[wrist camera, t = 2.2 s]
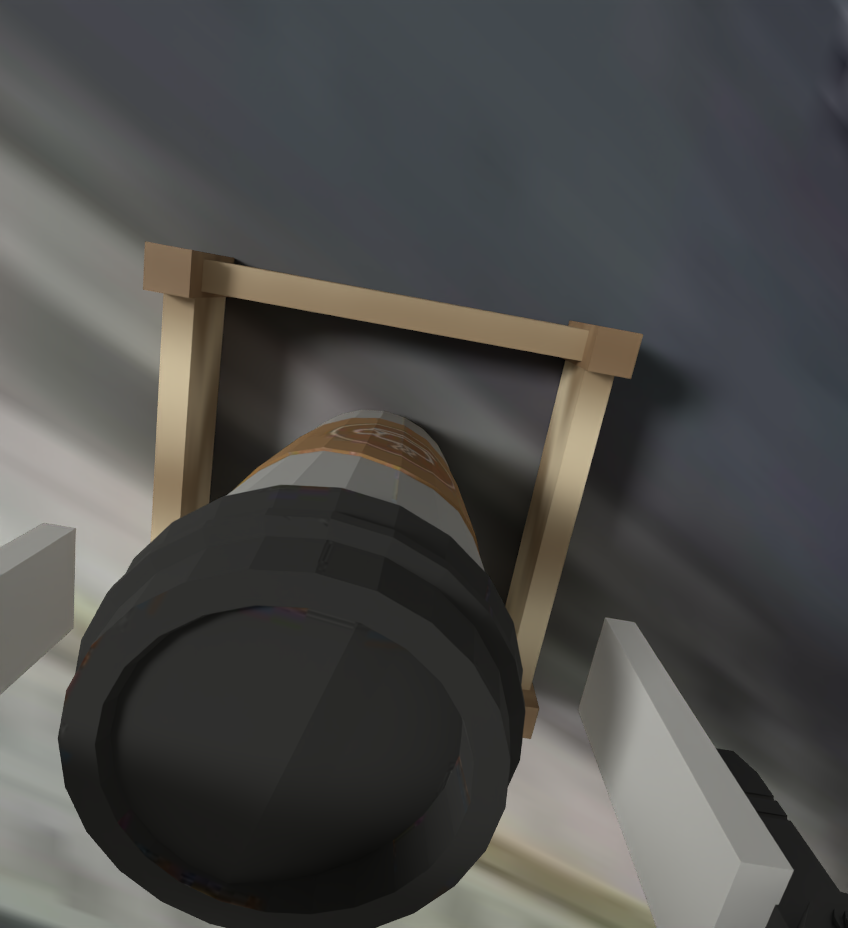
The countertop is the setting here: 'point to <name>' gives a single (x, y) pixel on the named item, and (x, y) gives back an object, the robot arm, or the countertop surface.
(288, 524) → the coffee cup
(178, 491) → the wooden frame
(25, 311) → the countertop surface
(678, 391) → the countertop surface
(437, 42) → the countertop surface
